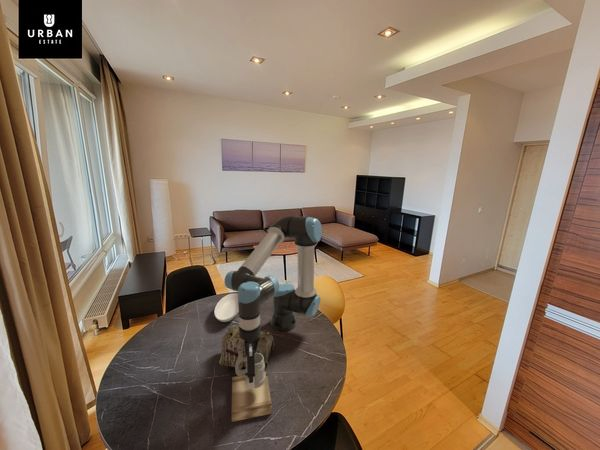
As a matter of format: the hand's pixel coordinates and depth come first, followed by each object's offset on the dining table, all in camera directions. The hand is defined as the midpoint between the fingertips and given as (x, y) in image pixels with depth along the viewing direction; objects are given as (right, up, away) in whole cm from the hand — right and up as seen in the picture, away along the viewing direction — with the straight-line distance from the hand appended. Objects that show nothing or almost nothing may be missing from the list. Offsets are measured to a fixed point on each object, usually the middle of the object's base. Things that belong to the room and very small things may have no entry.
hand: (250, 378), depth 93 cm
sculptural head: (-6, -5, +22) cm, 23 cm away
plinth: (0, -9, +2) cm, 9 cm away
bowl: (-25, +3, +57) cm, 63 cm away
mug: (0, -1, +1) cm, 2 cm away
